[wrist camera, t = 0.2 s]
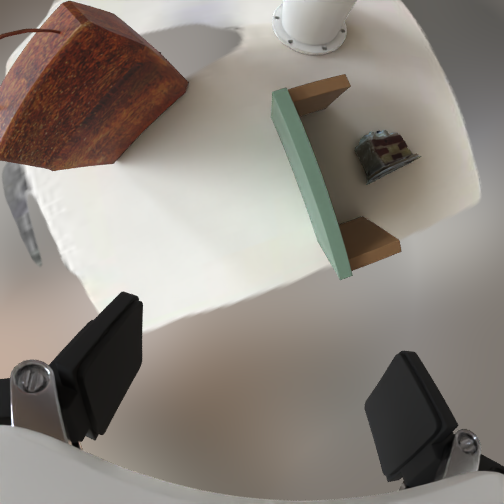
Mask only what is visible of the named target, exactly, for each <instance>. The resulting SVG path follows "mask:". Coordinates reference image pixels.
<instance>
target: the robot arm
mask: <svg viewBox="0 0 504 504" xmlns="http://www.w3.org/2000/svg"><path fill="white" fill-rule="evenodd" d="M356 1H357V0H283V3H282V4H281V5H280V6H279V7H278V8H277V9H276V10H275V12H274V14H273V19H272V26H273V30H274V32H275V34H276V36H277V37H278V39H279V40H280V41H281V42H282V43H283V44H285V45H286V46H287V47H289V48H291V49H293V50H295V51H297V52H300V53H304V54H309V55H322V54H327V53H330V52H333V51H334V50H336V49H338V48H339V47H340V46H341V45H342V43H343V42H344V40H345V38H346V35H347V27H346V23H345V20H346V18H347V16H348V14H349V13H350V11H351V9H352V8H353V6H354V4H355V2H356ZM276 19H278V20H276ZM290 43H292V44H290ZM323 49H324V50H323ZM142 317H143V303H142V302H141V301H139V298H138V296H136V295H133V294H129V293H126V292H121V293H120V294H119V295H118V296H117V297H116V298H115V299H114V300H113V301H112V302H111V303H110V304H109V305H108V306H107V307H106V308H105V309H104V310H103V311H102V312H101V313H100V314H99V315H98V317H96V318H95V319H94V320H91V321H90V322H89V323H87V325H86V326H85V327H84V328H83V329H82V330H81V331H80V332H79V333H78V334H77V335H76V336H75V337H74V338H73V339H72V340H71V342H70V343H69V344H68V345H67V346H66V347H65V348H64V349H63V350H62V351H61V352H60V353H59V355H58V356H57V357H56V358H55V359H54V360H53V361H52V362H51V363H50V365H47V364H46V363H44V362H42V361H39V360H26V361H23V362H21V363H19V364H18V365H17V366H15V367H14V369H13V371H12V372H11V377H10V378H7V379H0V504H504V466H501V465H500V464H498V463H497V462H495V461H493V460H491V459H489V458H487V457H485V456H484V455H482V454H480V453H481V444H480V440H479V439H478V437H477V436H476V435H475V434H474V433H473V432H471V431H470V430H467V429H461V430H458V431H457V432H456V433H455V434H453V431H454V430H455V428H457V426H458V424H457V422H456V420H455V418H454V416H453V414H452V412H451V411H450V409H449V407H448V405H447V404H446V402H445V400H444V398H443V396H442V395H441V393H440V391H439V390H438V388H437V386H436V384H435V383H434V381H433V380H432V378H431V376H430V374H429V373H428V371H427V370H426V368H425V366H424V365H423V363H422V362H421V360H420V358H419V357H418V355H417V354H416V353H415V352H410V351H401V352H400V353H399V354H397V355H396V356H395V357H394V359H393V360H392V362H391V364H390V365H389V367H388V369H387V370H386V372H385V373H384V375H383V377H382V378H381V380H380V381H379V383H378V384H377V386H376V387H375V389H374V390H373V392H372V393H371V395H370V396H369V397H368V399H367V400H366V403H365V411H366V415H367V418H368V421H369V425H370V428H371V431H372V434H373V438H374V441H375V445H376V449H377V453H378V456H379V460H380V464H381V467H382V471H383V473H384V475H386V477H387V481H388V482H391V481H396V480H399V479H401V478H402V477H403V480H404V481H403V483H402V485H401V487H400V489H399V491H395V492H390V493H385V494H378V495H372V496H364V497H356V498H347V499H336V500H335V499H334V500H314V501H313V500H311V501H294V500H293V501H292V500H290V501H289V500H270V499H257V498H248V497H239V496H231V495H225V494H219V493H213V492H208V491H203V490H198V489H194V488H189V487H185V486H181V485H177V484H174V483H170V482H167V481H163V480H160V479H156V478H153V477H150V476H147V475H144V474H141V473H138V472H135V471H132V470H129V469H127V468H124V467H121V466H119V465H116V464H114V463H111V462H108V461H106V460H104V459H102V458H99V457H97V456H95V455H92V454H90V453H88V452H85V451H83V449H82V446H81V443H80V442H81V441H83V439H84V437H85V436H87V437H89V438H91V439H93V440H96V438H97V436H98V434H100V435H103V434H104V433H105V432H106V429H107V428H108V426H109V424H110V422H111V420H112V418H113V416H114V414H115V412H116V411H117V409H118V407H119V405H120V403H121V401H122V400H123V398H124V396H125V394H126V392H127V390H128V389H129V387H130V385H131V383H132V381H133V379H134V378H135V376H136V374H137V372H138V371H139V369H140V366H141V363H142Z"/></svg>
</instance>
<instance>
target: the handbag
mask: <svg viewBox="0 0 504 504" xmlns="http://www.w3.org/2000/svg"><path fill="white" fill-rule="evenodd" d="M27 32H36V34H35V35H34V36H33V38H32V39H31V40H30V42H29V43H28V44H27V46H26V47H25V48H24V50H23V51H22V53H21V54H20V55H19V57H18V58H17V60H16V61H15V63H14V64H13V66H12V67H11V69H10V71H9V72H8V74H7V75H6V77H5V79H4V80H3V82H2V84H1V85H0V161H7V162H12V163H18V164H24V165H30V166H35V167H40V168H46V169H49V170H52V171H57V170H64V169H71V168H78V167H86V166H95V165H105V164H114V163H115V161H116V160H117V159H118V158H119V157H120V156H121V155H122V154H123V153H124V151H125V150H126V149H127V148H128V147H129V146H130V145H131V144H132V143H133V142H134V141H135V140H136V139H137V138H138V137H139V136H140V135H141V133H142V132H143V131H144V130H145V129H146V128H147V127H148V126H149V125H151V124H152V123H153V122H154V121H155V120H156V119H157V118H158V117H159V116H160V115H161V114H162V113H163V112H164V111H165V110H166V109H167V108H169V107H170V106H171V105H172V104H173V103H174V102H175V101H176V100H177V99H179V98H180V97H181V96H182V95H183V94H184V93H186V89H187V86H188V83H189V82H188V81H187V80H186V79H185V78H184V77H183V76H182V75H181V74H180V73H179V72H178V71H177V70H176V69H175V68H174V67H173V66H172V65H171V64H170V63H169V62H168V61H167V60H166V59H165V58H164V56H162V55H161V52H158V51H157V50H156V49H155V48H154V47H153V46H152V45H150V44H149V43H148V42H147V41H146V40H145V39H144V38H142V37H141V36H140V35H139V34H138V33H137V32H135V31H134V30H133V29H132V28H131V27H130V26H128V25H127V24H126V23H125V22H123V21H122V20H121V19H120V18H119V17H117V16H116V15H115V14H113V13H110V12H107V11H104V10H101V9H97V8H94V7H91V6H87V5H84V4H80V3H76V2H72V1H67V2H64V3H62V4H61V5H60V6H59V7H58V8H57V9H56V10H55V11H54V12H53V14H52V15H51V16H50V17H49V18H48V19H47V20H46V22H45V23H44V24H43V25H42V26H41V28H40V29H22V30H18V31H13V32H9V33H5V34H1V35H0V39H2V38H4V37H8V36H12V35H17V34H22V33H27Z"/></svg>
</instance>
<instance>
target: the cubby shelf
mask: <svg viewBox="0 0 504 504" xmlns="http://www.w3.org/2000/svg"><path fill="white" fill-rule="evenodd" d="M349 87H351V86H350V83H349V81H348V79H347V77H346V75H345V74H344V75H339V76H335V77H331V78H327V79H323V80H319V81H316V82H312V83H308V84H305V85H301V86H298V87H295V88H291V89H288V90H287V88H283V89H280V90H277V91H274V92H272V106H271V118H272V120H273V123H274V125H275V127H276V130H277V132H278V135H279V137H280V139H281V142H282V144H283V147H284V149H285V152H286V154H287V157H288V160H289V162H290V165H291V167H292V170H293V172H294V175H295V178H296V180H297V183H298V186H299V189H300V191H301V194H302V197H303V199H304V202H305V205H306V208H307V211H308V214H309V216H310V219H311V222H312V225H313V228H314V231H315V234H316V237H317V240H318V243H319V244H320V246H321V248H322V249H323V251H324V253H325V254H326V256H327V258H328V260H329V261H330V263H331V265H332V267H333V268H334V270H335V272H336V273H337V275H338V277H339V279H340V280H342V279H345V278H347V277H350V276H352V271H353V270H355V269H358V268H360V267H363V266H366V265H369V264H371V263H374V262H376V261H379V260H381V259H384V258H387V257H389V256H392V255H394V254H397V253H399V252H401V247H400V241H399V240H398V239H397V238H396V237H394V236H393V235H391V234H390V233H388V232H387V231H385V230H384V229H382V228H380V227H379V226H377V225H376V224H374V223H373V222H371V221H370V220H368V219H366V218H365V217H363V216H362V217H359V218H357V219H354V220H351V221H348V222H346V223H343V224H340V225H338V222H337V219H336V215H335V212H334V209H333V206H332V203H331V200H330V197H329V194H328V191H327V188H326V185H325V182H324V179H323V177H322V174H321V171H320V168H319V166H318V163H317V160H316V157H315V155H314V152H313V150H312V147H311V144H310V142H309V139H308V137H307V134H306V132H305V129H304V127H303V124H302V122H301V120H300V116H303V115H306V114H310V113H313V112H316V111H319V110H323V109H326V108H327V107H328V106H329V105H330V104H331V103H332V102H333V101H335V100H336V99H337V98H338V97H339V96H340V95H341V94H343V93H344V92H345V91H346V90H347V89H348V88H349Z"/></svg>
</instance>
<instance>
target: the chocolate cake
mask: <svg viewBox="0 0 504 504" xmlns="http://www.w3.org/2000/svg"><path fill="white" fill-rule="evenodd" d="M355 152H356V154H357V155H358V157H359V158H360V161H361V163H362V165H363V166H364V169H365V171H366V173H367V176H368V178H367V184H366V185H368V184H370V183H372V182H375V181H376V180H377V179H380V178H381V177H383V176H385V175H387V174H390V173H391V172H393V171H395V170H397V169H399V168H400V167H403V166H405V165H407V164H409V163H411V162H412V161H415V160H416V159H418V158H420V157H421V156H419V155H418V154H415V155H412V153H411V151H410V150H409V149H408V148H407V145H406V143H405V141H404V140H403V138H402V137H401V136H400V135H399V134H398V133H391V134H388V132H387V131H386V130H383V131H382V132H381V131H377V133H376V134H374V133H373V132H370V133H369V134H368V135H365V136H364V137H363V138H362V139H360V142H359V146H357V147H356V148H355Z"/></svg>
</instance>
